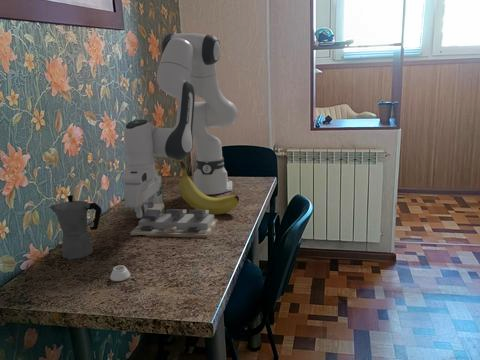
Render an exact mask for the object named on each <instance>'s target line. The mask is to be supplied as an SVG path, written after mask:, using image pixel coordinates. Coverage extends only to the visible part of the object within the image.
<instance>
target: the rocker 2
mask: <svg viewBox="0 0 480 360" xmlns="http://www.w3.org/2000/svg"><path fill="white" fill-rule="evenodd" d="M187 211H188V210H187V209H175V208H174V209H171V208H169V209H167V208H166V209H165V214H171V217H181V214H188V213H187Z"/></svg>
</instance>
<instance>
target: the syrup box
mask: <svg viewBox="0 0 480 360" xmlns="http://www.w3.org/2000/svg"><path fill="white" fill-rule="evenodd" d="M158 178H159V184H160V188H159V191H158V192H156V193H155V199H154V204H164V205H165V202H164V193H163V192H164V191H163V183H162V176H161V175H160V174H158ZM147 203H148V200H147V201H145V202H144V203H143V212H144V213H145V212H146V211H147V210H148V204H147ZM165 212H166V209H165V207H164V208H163V210H162V211H161V212H160V213H163V214H164V213H165Z"/></svg>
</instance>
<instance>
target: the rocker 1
mask: <svg viewBox="0 0 480 360" xmlns="http://www.w3.org/2000/svg"><path fill="white" fill-rule="evenodd" d="M163 208H164V209H165V203H164V204H154V207H153V208H148V210H147V211H146V212H145V211H144V213H143V217H142V218H143V219H156V218H157V217H159V216H160V212H161V211H162V210H163Z"/></svg>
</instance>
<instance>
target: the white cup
mask: <svg viewBox="0 0 480 360" xmlns="http://www.w3.org/2000/svg"><path fill="white" fill-rule="evenodd" d="M112 269H113V270H112V272H111V274H110V276H109V278H110V280H111V281H113V282H124V281H125V280H126V281H127V279H129V278H130V277H131V272H130V271H129V269H128V268H127V267H126V266H125V265H122V264H118V265H116V266H114V267H113V268H112Z"/></svg>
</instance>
